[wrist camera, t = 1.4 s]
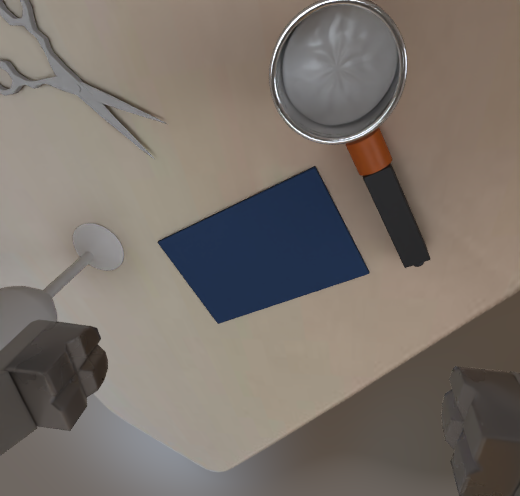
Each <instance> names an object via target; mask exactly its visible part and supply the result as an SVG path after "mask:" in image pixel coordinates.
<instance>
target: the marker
mask: <svg viewBox="0 0 520 496" xmlns="http://www.w3.org/2000/svg"><path fill="white" fill-rule="evenodd" d="M346 147H347V149H348V151H349V153H350V155H351V157H352V160H353V162H354V164H355V166H356V168H357V170H358V172H359V174H360V175H362V176H363V179H364V181H365V183H366V186H367V188H368V190H369V192H370V194H371V196H372V198H373V201H374V203H375V205H376V207H377V209H378V211H379V214H380V216H381V218H382V220H383V222H384V224H385V226H386V229H387V231H388V233H389V235H390V237H391V239H392V241H393V244H394V246H395V248H396V250H397V252H398V254H399V256H400V259H401V261H402V263H403V265H404V267H405V268H406V267H409V266H412V265H414V266H415V267H419V266H421V265H423V263H424V262H425V261H428V260H430V256H429V253H428V250H427V247H426V244H425V242H424V240H423V237H422V235H421V233H420V230H419V228H418V226H417V223H416V221H415V219H414V216H413V214H412V212H411V209H410V207H409V205H408V202H407V200H406V198H405V195H404V193H403V191H402V188H401V186H400V184H399V181H398V179H397V177H396V174H395V172H394V170H393V167H392V165H391V161H392V157H391V155H390V152H389V150H388V148H387V145H386V143H385V141H384V138H383V136H382V133H381V131H380V129H379V127H378V128H377V129H375V130H374V131H373V132H371V133H370V134H368V135H366V136H364V137H363V138H360V139H358V140H355V141H352V142H349V143H346Z"/></svg>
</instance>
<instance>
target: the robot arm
mask: <svg viewBox="0 0 520 496" xmlns="http://www.w3.org/2000/svg"><path fill="white" fill-rule="evenodd" d="M100 339H101V337H100V335H99V332H98V329H97V328H95V327H92V326H86V325H79V324H71V323H64V322H57V321H56V322H54V321H47V320H40V319H38V320H36V321H33V322H31V323H30V324H28V325H27V326H26V327H25V328H24V329H23V330H22V331H21V332H20V333H19V334H18V335H17V336H16V337H15V338H13V339H12V340H11V341H10V342H9V343H8V344H7V345H6V346H5V347H4V348H3V349H2V350H1V351H0V455H2V454H3V453H5V452H6V451H7V450H9V449H10V448H11V447H13V446H14V445H15V444H17V443H18V442H19V441H21V440H22V439H23V438H25V437H26V436H28V435H29V434H30V433H32V432H33V431H34V430H36V429H37V426H39V427H46V428H53V429H61V430H68V431H70V430H71V429H72V427H73V426H74V424H75V423H76V422H77V420H78V419H79V417H80V416H81V414H82V413H83V411H84V410H85V408H86V407H87V397H88V396H90V395H91V394H93V393H94V392H96V391H98V389H99V388H100V386H101V384H102V383H103V381H104V379H105V376H106V373H107V369H108V359H107V356H106V352H105V351H104V350H103V349H102V348H101V347H100V346H99V345H98V343H99V341H100ZM449 380H450V383H451V387H452V389H451V390H450V391H448V392H447V393H445V395H444V399H443V403H442V414H441V419H442V428H443V432H444V437H445V441H446V442H448V444H449V445H450V446H451V447H452V448H453V449H454V453H453V455H452V459H451V466H452V469H453V473H454V478H455V482H456V485H457V490H458V493H459V496H520V373H519V372H507V371H498V370H489V369H479V368H468V367H459V366H455V367H454V369H453V370H452V372H451V375H450V378H449Z"/></svg>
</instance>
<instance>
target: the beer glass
mask: <svg viewBox="0 0 520 496" xmlns="http://www.w3.org/2000/svg"><path fill="white" fill-rule="evenodd" d="M407 65H408V64H407V52H406V47H405V43H404V40H403V37H402V35H401V33H400V31H399V29H398V27H397V25H396V24H395V22H394V21H393V20H392V19H391V17H390V16H389V15H388V14H387V13H386V12H385V11H384V10H383V9H382V8H381V7H380V6H378V5H377V4H375V3H374V2H372V1H370V0H319V1H317V2H315V3H313V4H311V5H310V6H308V7H306V8H305V9H303V10H302V11H301V12H299V13H298V14H297V15H296V16H295V17H294V18H293V19H292V20H291V21H290V22H289V23H288V24H287V26H286V27H285V28H284V30H283V31H282V33H281V35H280V36H279V38H278V40H277V42H276V45H275V47H274V50H273V53H272V57H271V61H270V68H269V84H270V91H271V95H272V99H273V102H274V104H275V107H276V109H277V111H278V113H279V114H280V116H281V117H282V119H283V120H284V121H285V123H286V124H287V125H288V126H289V127H290V128H291V129H292V130H294V131H295V132H296V133H298V134H299V135H301V136H302V137H304V138H306V139H308V140H311V141H314V142H317V143H322V144H332V145H333V144H344V143H349V142H352V141H355V140H358V139H360V138H363V137H364V136H366V135H368V134H370V133H371V132H373V131H374V130H375V129H377V128H378V127H379V126H380V125H381V124H382V123H383V122H384V121H385V120H386V119H387V118H388V117H389V116H390V114H391V113H392V112H393V110H394V109H395V107H396V105H397V104H398V102H399V100H400V97H401V95H402V92H403V90H404V86H405V82H406V77H407Z"/></svg>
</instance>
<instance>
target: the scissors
mask: <svg viewBox="0 0 520 496" xmlns="http://www.w3.org/2000/svg"><path fill="white" fill-rule="evenodd" d="M20 2H21V4H22V7H23V14H22V17H21V18H17V17H16V16H15V15H13V14H12V13H11V12H10V11H9V10H8V9H7V8H6V6H5V4H4V3H3V1H2V0H0V15H1V16H2V17H3V18H4V19H5V20H6V21H7V22H8V23H9V24H10V25H22V26H25V28H26V29H27V30H28V31H29V32H30V33H32V34H33V35H34V36H35V37H36V39H37V40H38V42H39V43H40V45H41V47H42V49H43V50H44V52H45V54H46V56H47V58H48V61H49V63H50V66H51V67H52V69H53V71H54V73H55V75H56V77H51V78H46V79H42V80H30V79H28V78H26V77H24V76H22V75H20V74H19V73H18V72H17V71H16V69H15V68H14V67H13V65H12V64H11V62H9V61H6V60H0V68H2V69H4V70H5V71H6V72H8V74H9V75H10V77H11V79H12V80H13V81H12V86H11V88H10V89H7V88H4V87H3V86H1V85H0V94H2V95H10V94H14V93H17V92H19V91H20V90H21V88H22V86H24V85H28V86H30V87H32V88H39V87H40V86H41V85H42V84H45V83H46V84H48V85H51V86H53V87H55V88H58V89H60V90H63V91H66V92H69V93H72V94H75V95H77V96H79V97H80V98H81V99H82V100H83V101H84V102H85V103H87V104H88V105H89V106H90V107H91V108H92V109H93V110H94V111H96V112H97V113H98V114H99V115H100V116H101V117H102V118H104V119H105V120H106V121H107V122H108V123H110V124H111V125H112V126H113V127H114V128H116V129H117V130H118V131H119V132H121V133H122V134H123V135H124V136H126V137H127V138H128V139H129V140H131V141H132V142H133V143H134V144H135V145H137V146H138V147H139V148H140V149H141V150H143V151H144V152H145V153H147V154H148V155H150V156H151V157H152V155H151V154H150V153H149V152H148V151H147V150H146V149H145V148H144V147H143V146H142V145H141V144H140V143H139V142H138V141H137V140H136V139H135V138H134V136H133V135H132V134H131V133H130V132H129V131H128V130H127V129H126V128H125V127H124V126H123V125H122V124H121V123H120V122H119V121H118V120H117V119H116V118H115V117H114V116H113V115H112V114H111V113H110V111H109V110H108V109H107V108H106V107H105V106H104V105H103V104H106V105H109V106H112V107H115V108H118V109H121V110H124V111H127V112H130V113H133V114H137V115H140V116H143V117H146V118H150V119H153V120H156V121H159V122H162V123H165V122H163V121H161V120H159V119H157V118H155V117H153V116H151V115H149V114H147V113H145V112H143V111H141V110H139V109H137V108H135V107H133V106H131V105H129V104H128V103H126V102H124V101H122V100H120V99H118V98H116V97H114V96H111V95H109V94H107V93H105V92H103V91H101V90H99V89H97V88H94V87H92V86H90V85H88V84H86V83H84V82H82V81H81V80H80V78H79V77H78V76H77V75H76V74H75V73H73V72H72V71H71V70H70V69H69V68H68V67H67V66H66V65H65V64H64V63H63V62H62V61H61V60H60V59H59V58H58V57H57V56H56V55H55V54H54V52H53V50H52V49H51V47H50V43H49V39H48V38H47V37H46V36H45V35H44V34H42V33H41V32H40V31H39V30H38V29H37V26H36V23H35V19H34V15H33V9H32V6H31V4H30V2H29V0H20ZM102 103H103V104H102ZM166 124H167V123H166ZM152 158H153V157H152Z"/></svg>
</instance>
